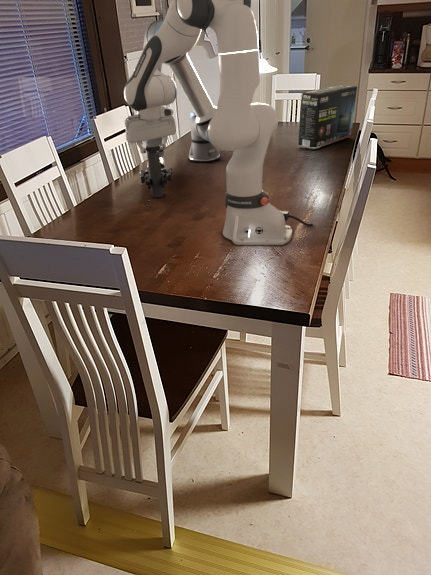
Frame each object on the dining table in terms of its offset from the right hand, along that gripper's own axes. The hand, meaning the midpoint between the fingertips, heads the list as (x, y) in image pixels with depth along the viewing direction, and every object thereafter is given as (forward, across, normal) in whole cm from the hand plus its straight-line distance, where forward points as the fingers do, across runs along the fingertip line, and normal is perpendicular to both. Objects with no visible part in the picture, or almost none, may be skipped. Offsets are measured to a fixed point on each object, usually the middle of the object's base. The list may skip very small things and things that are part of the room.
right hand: (153, 150), depth 174 cm
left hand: (+12, -3, -4) cm, 13 cm away
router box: (+18, +109, +5) cm, 111 cm away
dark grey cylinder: (+18, 0, 0) cm, 18 cm away
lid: (-2, 0, 0) cm, 2 cm away
